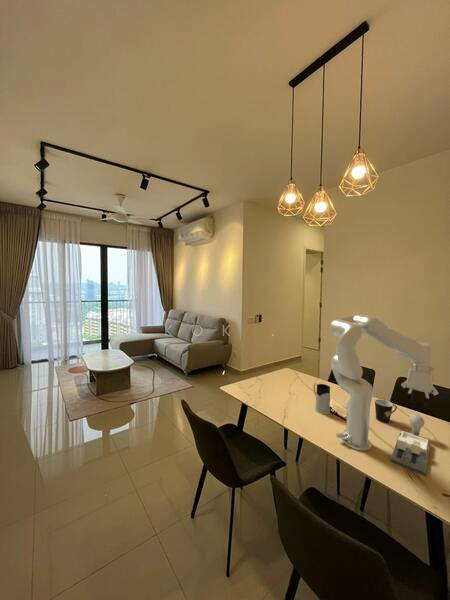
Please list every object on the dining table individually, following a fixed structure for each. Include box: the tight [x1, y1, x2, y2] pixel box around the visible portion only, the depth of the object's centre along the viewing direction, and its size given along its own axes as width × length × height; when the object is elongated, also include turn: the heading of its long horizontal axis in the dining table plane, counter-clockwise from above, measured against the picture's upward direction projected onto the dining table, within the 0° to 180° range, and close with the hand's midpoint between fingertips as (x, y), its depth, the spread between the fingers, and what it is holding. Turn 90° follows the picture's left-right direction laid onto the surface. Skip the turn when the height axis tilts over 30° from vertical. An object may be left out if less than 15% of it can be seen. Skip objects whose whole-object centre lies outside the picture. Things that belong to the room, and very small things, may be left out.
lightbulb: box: [409, 413, 425, 437], centre depth 127 cm, size 6×6×11 cm
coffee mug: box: [374, 398, 398, 424], centre depth 141 cm, size 12×9×10 cm
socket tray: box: [400, 430, 429, 453], centre depth 120 cm, size 10×10×2 cm
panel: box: [389, 432, 431, 477], centre depth 114 cm, size 26×12×1 cm, turn 138°
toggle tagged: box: [411, 440, 421, 455], centre depth 113 cm, size 4×3×4 cm
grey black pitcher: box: [313, 382, 331, 415], centre depth 154 cm, size 9×14×15 cm, turn 12°
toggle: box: [397, 435, 407, 451], centre depth 116 cm, size 4×3×4 cm
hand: (418, 402), depth 126 cm, fingers open, 5 cm apart
